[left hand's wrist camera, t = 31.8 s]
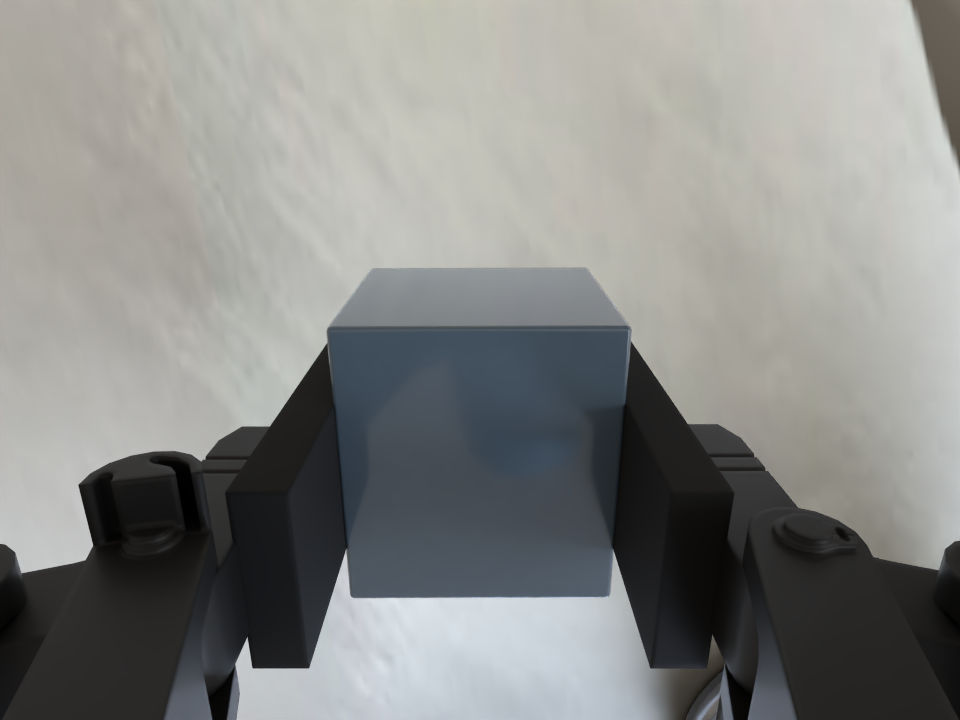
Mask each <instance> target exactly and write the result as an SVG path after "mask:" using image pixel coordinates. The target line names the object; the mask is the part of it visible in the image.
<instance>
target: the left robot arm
mask: <svg viewBox="0 0 960 720" xmlns="http://www.w3.org/2000/svg"><path fill="white" fill-rule="evenodd" d="M79 489H80V493H81V497H82V502H83V506H84V510H85V514H86V518H87V522H88V526H89V530H90V534H91V538H92V542H93V548H92V550H91V551H90V553H89V555H88V557H87V559H86V560H85V561H81V562H77V563H73V564H68V565H63V566H58V567H53V568H47V569H42V570H37V571H32V572H27V573H21V571H20V567H19V564H18V561H17V557H16V554H15V552H14V551H13V550H11V549H10V548H9V547H8V546H6V545H4V544H0V720H236V718H237V710H238V703H239V695H240V692H239V684H238V677H237V671H236V666H235V663H236V661H237V659H238V656H239V654H240V652H241V650H242V648H243V645H244V643H245V641H246V639H247V636H248V642H249V649H250V655H251V661H252V668H309V667H310V664H311V660H312V657H313V654H314V651H315V647H316V644H317V641H318V638H319V635H320V631H321V628H322V625H323V622H324V619H325V615H326V612H327V609H328V606H329V602H330V599H331V596H332V593H333V590H334V586H335V583H336V580H337V577H338V574H339V570H340V567H341V564H342V561H343V558H344V554H345V551H346V539H345V528H344V516H343V505H342V493H341V482H340V471H339V459H338V448H337V437H336V425H335V414H334V404H333V398H332V387H331V375H330V364H329V353H328V343H327V344H326V346H325V347H324V349H323V350H322V352H321V353H320V354H319V356H318V357H317V359H316V360H315V362H314V363H313V365H312V366H311V368H310V369H309V370H308V372H307V373H306V375H305V376H304V378H303V379H302V381H301V382H300V384H299V385H298V387H297V388H296V389H295V391H294V392H293V394H292V395H291V397H290V398H289V400H288V401H287V403H286V404H285V405H284V407H283V408H282V410H281V411H280V413H279V414H278V416H277V417H276V419H275V420H274V422H273V423H272V424H271V426H270V427H241V428H239V429H237V430H236V431H234V432H232V433H231V434H229V435H227V436H226V437H224V438H222V439H221V440H219V441H218V442H217V443H216V445H215V446H214V447H213V448H212V450H211V451H210V452H209V453H208V454H207V456H206V460H203V461H202V462H201V461H199V460H198V459H197V458H195V457H194V456H193V455H190V454H186V453H181V452H176V451H162V452H150V453H144V454H138V455H133V456H129V457H126V458H123V459H120V460H117V461H114V462H112V463H109V464H107V465H105V466H103V467H101V468H100V469H98V470H96V471H94V472H92V473H90V474H89V475H88V476H87V477H86V478H85V479H84V480H83V481H82V482H81V483H80V484H79ZM613 549H614V553H615V556H616V559H617V562H618V566H619V569H620V572H621V575H622V578H623V582H624V585H625V588H626V591H627V594H628V598H629V601H630V604H631V607H632V610H633V614H634V617H635V620H636V623H637V627H638V630H639V633H640V636H641V639H642V643H643V646H644V649H645V652H646V655H647V659H648V662H649V665H650V668H707V664H708V658H709V652H710V645H711V639H712V634H713V637H714V639H715V641H716V643H717V645H718V648H719V650H720V652H721V654H722V656H723V659H724V661H725V665H724V670H723V671H722V672H721V673H719V674H718V675H717V676H716V677H715V678H714V679H713V680H712V681H711V682H710V683H709V684H708V685H707V686H706V687H705V688H704V690H703V691H702V692H701V693H700V694H699V696H698V697H697V699H696V700H695V702H694V703H693V705H692V707H691V708H690V710H689V712H688V714H687V717H686V719H685V720H960V541H956V542H954V543H953V544H951V545H950V546H949V547H947V548H946V549H945V552H944V555H943V558H942V562H941V565H940V568H939V570H933V569H928V568H923V567H918V566H913V565H907V564H902V563H897V562H892V561H887V560H883V559H879V558H875V557H873V556H872V554H871V552H870V550H869V548H868V546H867V545H866V544H865V542H864V541H863V540H862V539H861V538H860V537H859V535H858V534H857V533H856V532H855V531H853V530H852V529H850V528H849V527H847V526H846V525H844V524H843V523H841V522H839V521H838V520H835V519H833V518H830V517H828V516H825V515H823V514H820V513H818V512H814V511H810V510H805V509H800V508H798V507H797V506H796V505H795V503H794V502H793V501H792V500H791V499H790V497H789V496H788V495H787V494H786V492H785V491H784V490H783V489H782V488H781V486H780V485H779V484H778V483H777V481H776V480H775V479H774V478H773V477H772V475H771V474H770V473H769V472H768V471H765V467H764V466H763V464H762V463H761V462H760V461H759V460H758V458H757V457H754V454H753V452H752V451H751V450H750V449H749V447H748V446H747V445H746V444H745V443H744V441H743V440H742V439H741V438H740V437H738V436H736V435H735V434H733V433H731V432H730V431H728V430H726V429H725V428H723V427H721V426H719V425H718V424H687V422H686V421H685V419H684V418H683V416H682V415H681V414H680V412H679V411H678V409H677V408H676V406H675V405H674V403H673V402H672V400H671V399H670V397H669V396H668V395H667V393H666V392H665V390H664V389H663V387H662V386H661V384H660V383H659V381H658V380H657V379H656V377H655V376H654V374H653V373H652V371H651V370H650V368H649V367H648V365H647V364H646V362H645V361H644V360H643V358H642V357H641V355H640V354H639V352H638V351H637V349H636V348H635V346H634V345H633V343H632V342H631V344H630V356H629V368H628V381H627V393H626V403H625V414H624V426H623V438H622V451H621V463H620V475H619V487H618V499H617V511H616V523H615V535H614V547H613Z"/></svg>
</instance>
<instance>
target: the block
mask: <svg viewBox="0 0 960 720" xmlns="http://www.w3.org/2000/svg"><path fill="white" fill-rule="evenodd" d="M631 332H632V330H631V327H630V326H629V324H628V323H627V321H626V320H625V319H624V317H623V316H622V315H621V313H620V312H619V311H618V309H617V308H616V306H615V305H614V304H613V302H612V301H611V300H610V298H609V297H608V296H607V294H606V293H605V291H604V290H603V289H602V287H601V286H600V285H599V283H598V282H597V281H596V279H595V278H594V276H593V275H592V274H591V272H590V271H589V270H588V269H587V268H373V269H371V270H370V271H369V273H368V274H367V275H366V277H365V278H364V279H363V281H362V282H361V283H360V285H359V286H358V288H357V289H356V290H355V292H354V293H353V294H352V296H351V297H350V298H349V300H348V301H347V302H346V304H345V305H344V306H343V308H342V309H341V310H340V312H339V313H338V315H337V316H336V317H335V319H334V320H333V321H332V323H331V324H330V325H329V327H328V328H327V342H328V353H329V364H330V375H331V387H332V398H333V404H334V414H335V425H336V437H337V448H338V459H339V471H340V482H341V493H342V505H343V516H344V528H345V539H346V554H347V565H348V576H349V587H350V595H351V597H352V598H605V597H609V595H610V589H611V577H612V565H613V552H614V549H613V547H614V535H615V523H616V511H617V499H618V487H619V475H620V463H621V451H622V438H623V426H624V414H625V403H626V393H627V381H628V368H629V356H630V344H631Z"/></svg>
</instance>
